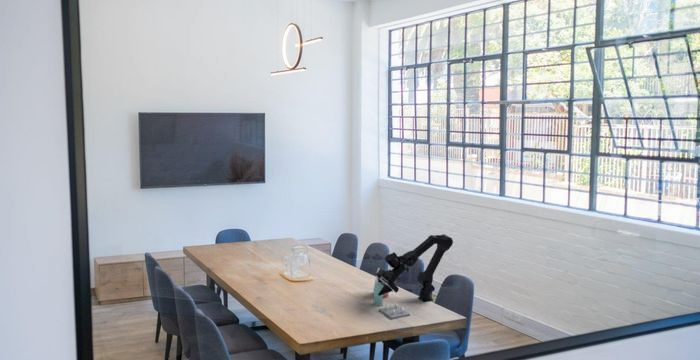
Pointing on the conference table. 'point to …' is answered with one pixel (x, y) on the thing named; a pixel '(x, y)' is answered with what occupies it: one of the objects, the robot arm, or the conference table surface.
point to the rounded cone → (377, 299)
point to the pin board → (394, 312)
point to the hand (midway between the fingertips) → (376, 293)
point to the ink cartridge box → (384, 283)
